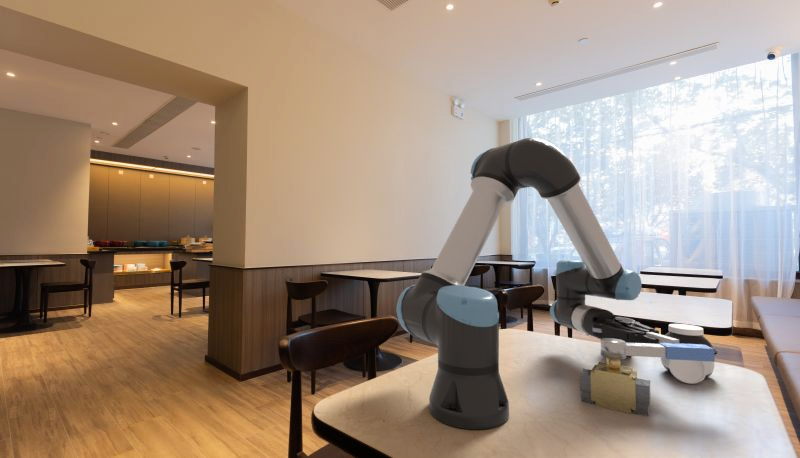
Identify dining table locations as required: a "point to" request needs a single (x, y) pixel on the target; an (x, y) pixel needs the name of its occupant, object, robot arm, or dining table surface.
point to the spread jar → (687, 368)
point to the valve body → (615, 387)
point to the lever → (656, 350)
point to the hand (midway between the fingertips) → (676, 346)
